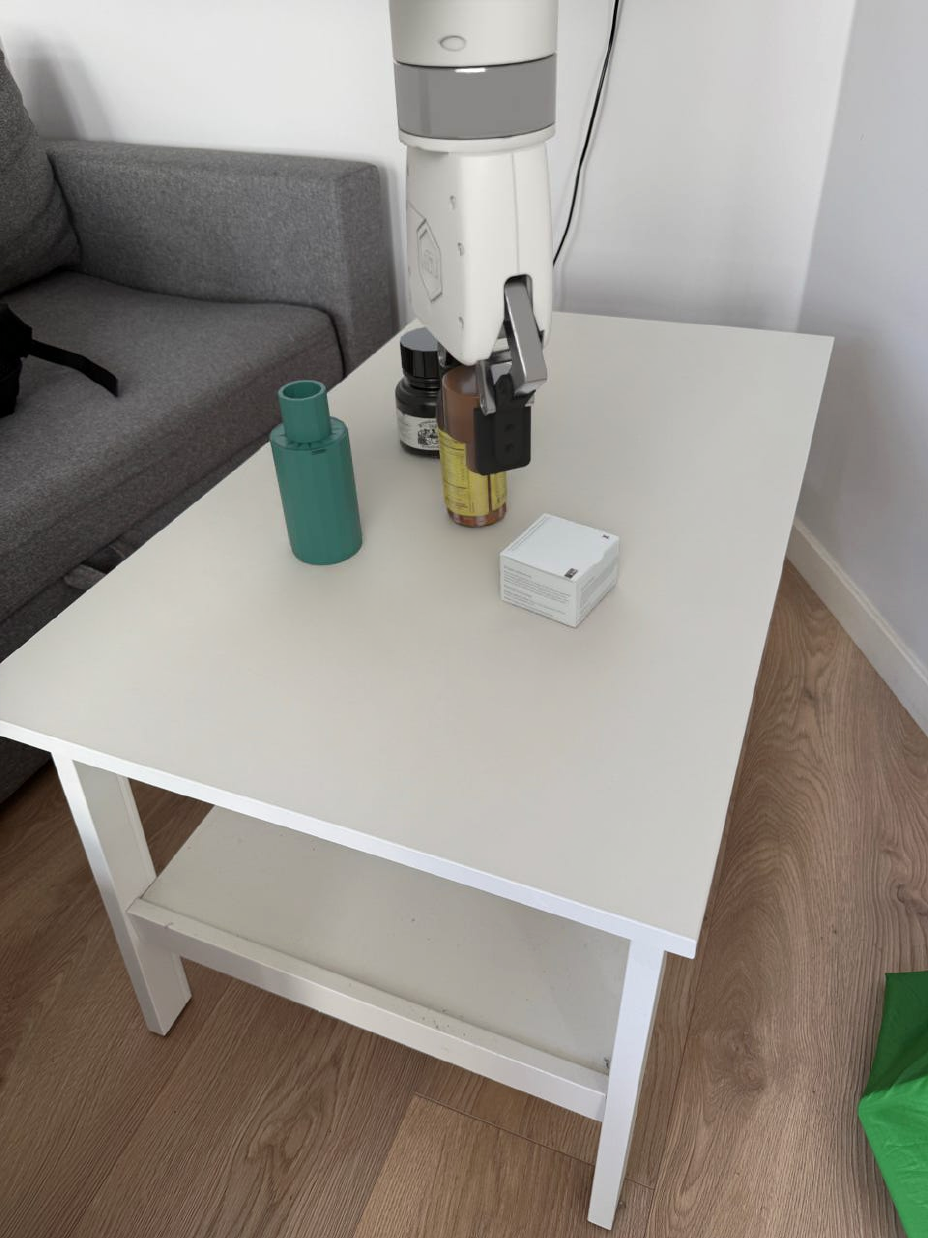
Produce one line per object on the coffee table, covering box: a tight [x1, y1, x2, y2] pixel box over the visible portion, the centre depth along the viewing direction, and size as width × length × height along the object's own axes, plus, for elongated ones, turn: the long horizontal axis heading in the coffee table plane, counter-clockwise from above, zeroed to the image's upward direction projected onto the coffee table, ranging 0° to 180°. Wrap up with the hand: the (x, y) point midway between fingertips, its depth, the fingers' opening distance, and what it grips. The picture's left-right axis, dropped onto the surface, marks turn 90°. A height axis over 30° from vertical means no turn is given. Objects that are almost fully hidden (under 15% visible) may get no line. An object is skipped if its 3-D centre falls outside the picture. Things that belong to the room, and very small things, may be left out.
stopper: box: [442, 362, 512, 474], centre depth 53 cm, size 5×5×6 cm
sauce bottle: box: [436, 366, 508, 528], centre depth 85 cm, size 7×6×20 cm
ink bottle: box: [394, 326, 444, 458], centre depth 100 cm, size 10×9×12 cm
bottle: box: [268, 379, 363, 566], centre depth 83 cm, size 7×7×16 cm
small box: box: [498, 512, 622, 628], centre depth 79 cm, size 8×8×5 cm
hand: (485, 444), depth 54 cm, fingers closed on stopper, 4 cm apart
